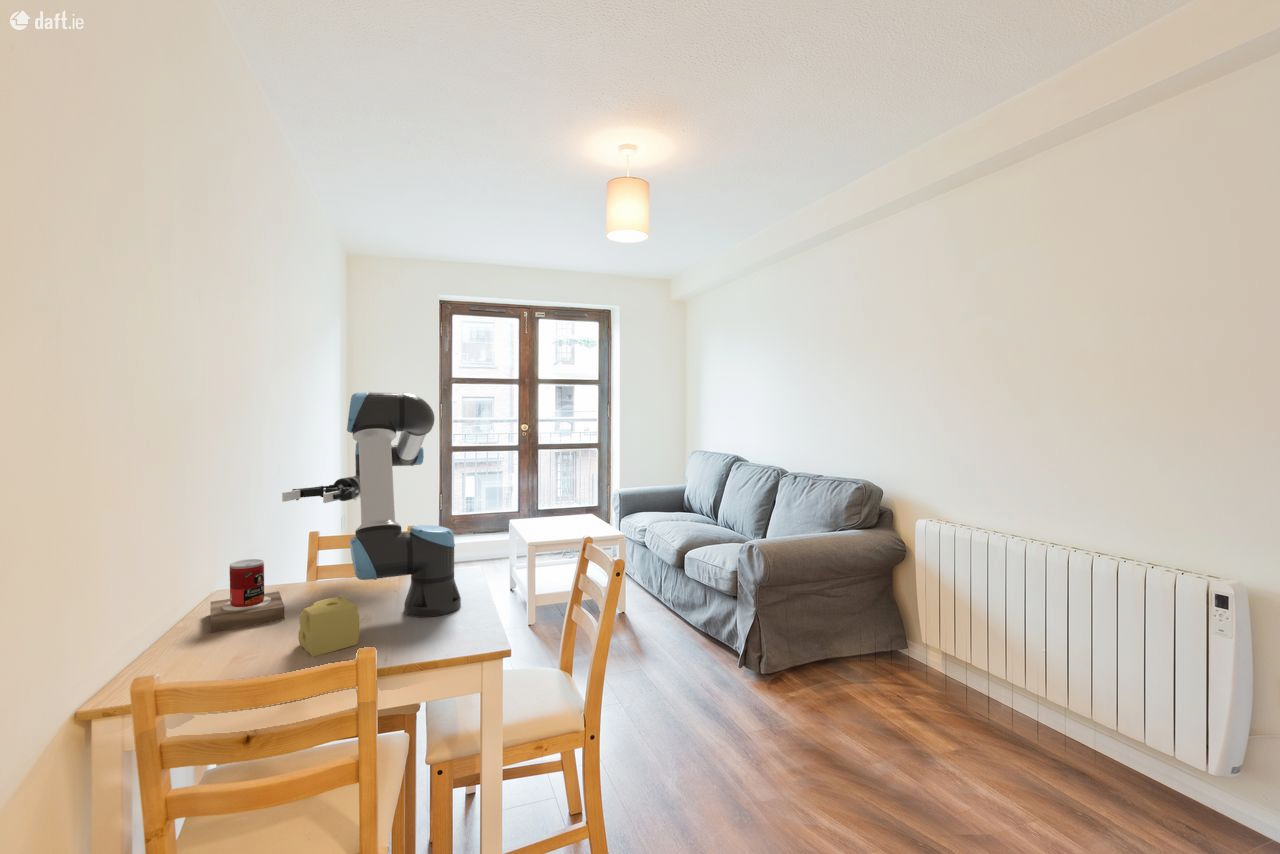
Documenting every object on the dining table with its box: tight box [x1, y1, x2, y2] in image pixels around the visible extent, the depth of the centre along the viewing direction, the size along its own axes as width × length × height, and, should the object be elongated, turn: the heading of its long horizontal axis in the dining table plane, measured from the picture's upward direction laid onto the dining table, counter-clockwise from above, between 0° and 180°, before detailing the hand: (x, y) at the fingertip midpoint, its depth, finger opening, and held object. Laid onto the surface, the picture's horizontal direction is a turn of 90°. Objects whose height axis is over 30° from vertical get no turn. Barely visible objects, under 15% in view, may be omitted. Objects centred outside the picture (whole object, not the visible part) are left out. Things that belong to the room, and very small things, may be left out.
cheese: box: [297, 595, 361, 658], centre depth 139 cm, size 10×11×10 cm
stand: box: [209, 591, 286, 633], centre depth 158 cm, size 16×16×4 cm
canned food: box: [229, 558, 265, 607], centre depth 157 cm, size 8×8×11 cm
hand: (303, 497), depth 173 cm, fingers open, 13 cm apart
